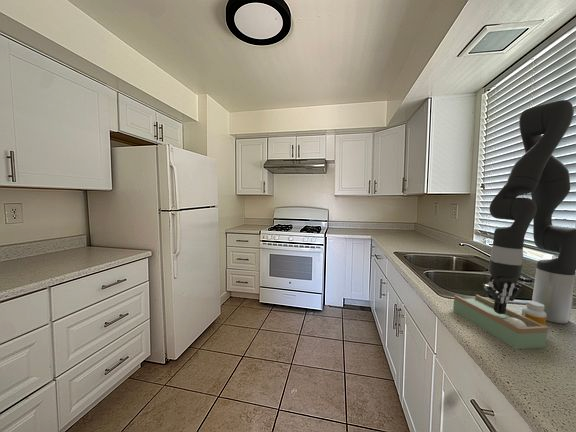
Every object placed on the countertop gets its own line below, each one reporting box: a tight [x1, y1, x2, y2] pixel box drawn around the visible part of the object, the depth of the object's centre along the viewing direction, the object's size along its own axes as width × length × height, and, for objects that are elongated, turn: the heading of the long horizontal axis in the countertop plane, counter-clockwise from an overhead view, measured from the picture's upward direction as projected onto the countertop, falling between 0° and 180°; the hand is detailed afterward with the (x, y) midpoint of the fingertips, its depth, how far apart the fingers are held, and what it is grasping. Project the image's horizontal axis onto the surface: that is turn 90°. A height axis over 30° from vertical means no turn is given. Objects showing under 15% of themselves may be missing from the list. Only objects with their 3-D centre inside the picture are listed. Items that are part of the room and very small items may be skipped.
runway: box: [452, 294, 549, 350], centre depth 78 cm, size 10×22×6 cm, turn 8°
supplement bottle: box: [521, 300, 547, 326], centre depth 76 cm, size 5×5×10 cm
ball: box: [504, 317, 527, 327], centre depth 72 cm, size 6×6×6 cm
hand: (499, 312), depth 77 cm, fingers closed
